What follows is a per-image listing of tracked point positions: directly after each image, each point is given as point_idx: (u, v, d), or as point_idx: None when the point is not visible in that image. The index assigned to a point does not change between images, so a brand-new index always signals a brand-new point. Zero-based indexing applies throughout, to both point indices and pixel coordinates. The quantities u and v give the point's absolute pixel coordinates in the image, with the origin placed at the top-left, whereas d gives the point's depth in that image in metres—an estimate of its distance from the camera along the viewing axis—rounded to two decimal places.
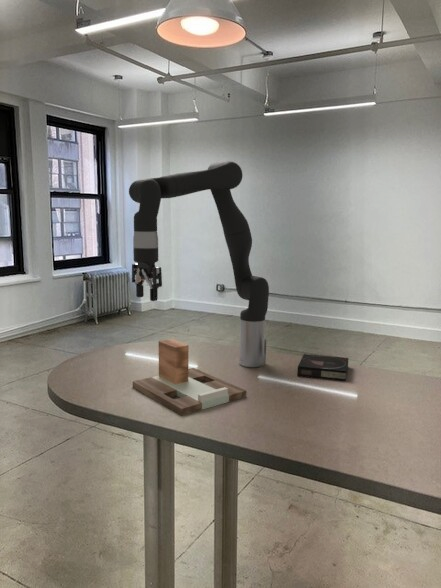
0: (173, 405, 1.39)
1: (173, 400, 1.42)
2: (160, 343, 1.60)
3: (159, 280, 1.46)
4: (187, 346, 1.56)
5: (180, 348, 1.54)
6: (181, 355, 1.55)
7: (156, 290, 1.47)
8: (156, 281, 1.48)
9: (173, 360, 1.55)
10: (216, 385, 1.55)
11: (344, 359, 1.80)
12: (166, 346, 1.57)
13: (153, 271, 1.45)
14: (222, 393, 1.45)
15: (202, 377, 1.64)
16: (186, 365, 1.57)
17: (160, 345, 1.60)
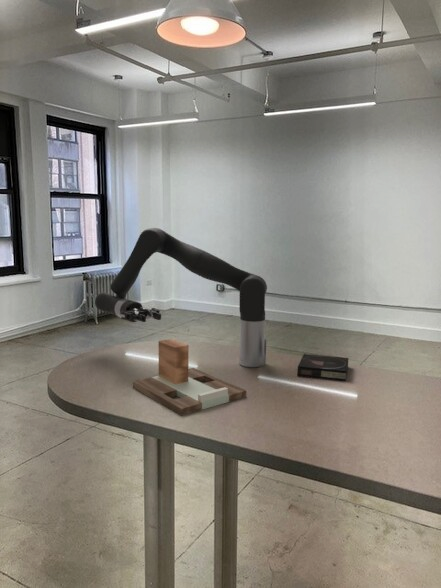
0: (173, 405, 1.39)
1: (173, 400, 1.42)
2: (160, 343, 1.60)
3: None
4: (187, 346, 1.56)
5: (180, 348, 1.54)
6: (181, 355, 1.55)
7: (137, 316, 1.67)
8: (135, 313, 1.70)
9: (173, 360, 1.55)
10: (216, 385, 1.55)
11: (344, 359, 1.80)
12: (166, 346, 1.57)
13: None
14: (222, 393, 1.45)
15: (202, 377, 1.64)
16: (186, 365, 1.57)
17: (160, 345, 1.60)
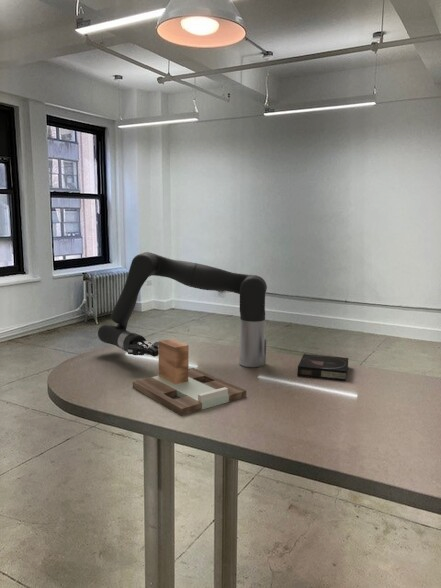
0: (173, 405, 1.39)
1: (173, 400, 1.42)
2: (160, 343, 1.60)
3: None
4: (187, 346, 1.56)
5: (180, 348, 1.54)
6: (181, 355, 1.55)
7: (148, 351, 1.69)
8: (144, 347, 1.71)
9: (173, 360, 1.55)
10: (216, 385, 1.55)
11: (344, 359, 1.80)
12: (166, 346, 1.57)
13: None
14: (222, 393, 1.45)
15: (202, 377, 1.64)
16: (186, 365, 1.57)
17: (160, 345, 1.60)
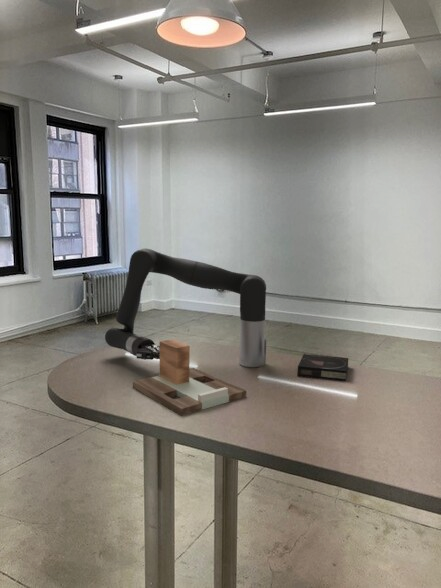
0: (173, 405, 1.39)
1: (173, 400, 1.42)
2: (161, 343, 1.60)
3: None
4: (188, 346, 1.56)
5: (181, 348, 1.54)
6: (182, 355, 1.55)
7: (157, 355, 1.65)
8: (153, 352, 1.66)
9: (174, 360, 1.54)
10: (216, 385, 1.55)
11: (344, 359, 1.80)
12: (167, 346, 1.57)
13: None
14: (222, 393, 1.45)
15: (202, 377, 1.64)
16: (187, 365, 1.56)
17: (161, 345, 1.60)
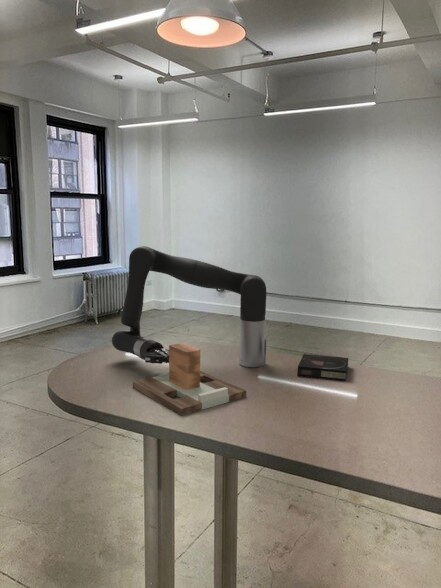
0: (173, 405, 1.39)
1: (173, 400, 1.42)
2: (171, 347, 1.55)
3: None
4: (199, 351, 1.51)
5: (191, 352, 1.49)
6: (192, 360, 1.50)
7: (166, 359, 1.60)
8: (162, 355, 1.62)
9: (184, 365, 1.50)
10: (216, 385, 1.55)
11: (344, 359, 1.80)
12: (177, 351, 1.52)
13: None
14: (222, 393, 1.45)
15: (202, 377, 1.64)
16: (198, 370, 1.52)
17: (171, 349, 1.55)
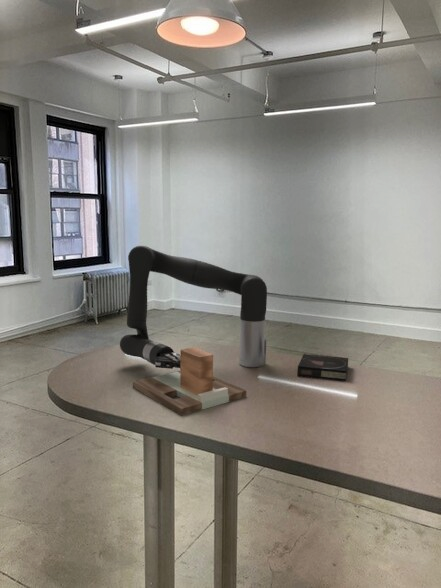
0: (173, 405, 1.39)
1: (173, 400, 1.42)
2: (182, 352, 1.50)
3: None
4: (212, 355, 1.46)
5: (204, 357, 1.44)
6: (205, 365, 1.45)
7: (177, 364, 1.55)
8: (173, 360, 1.57)
9: (197, 371, 1.45)
10: (216, 385, 1.55)
11: (344, 359, 1.80)
12: (189, 355, 1.47)
13: None
14: (222, 393, 1.45)
15: None
16: (210, 376, 1.47)
17: (182, 354, 1.50)
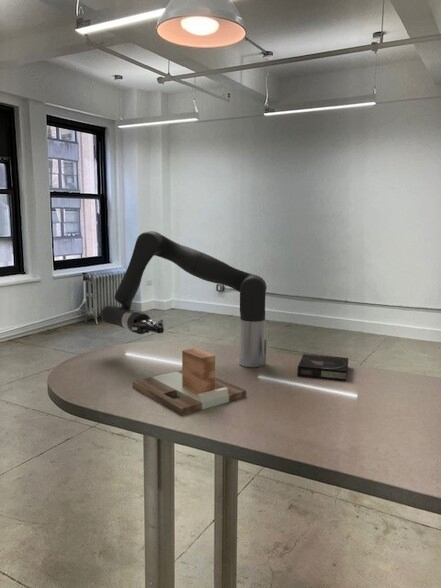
0: (173, 405, 1.39)
1: (173, 400, 1.42)
2: (184, 353, 1.49)
3: None
4: (214, 356, 1.45)
5: (206, 358, 1.44)
6: (207, 366, 1.44)
7: (152, 328, 1.66)
8: None
9: (199, 371, 1.44)
10: (216, 385, 1.55)
11: (344, 359, 1.80)
12: (191, 356, 1.46)
13: None
14: (222, 393, 1.45)
15: None
16: (212, 377, 1.46)
17: (184, 355, 1.49)
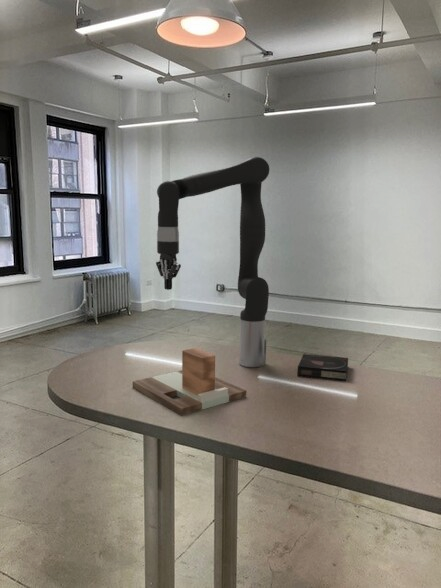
0: (173, 405, 1.39)
1: (173, 400, 1.42)
2: (184, 353, 1.49)
3: (175, 273, 1.70)
4: (214, 356, 1.45)
5: (206, 358, 1.44)
6: (207, 366, 1.44)
7: (171, 280, 1.72)
8: None
9: (199, 371, 1.44)
10: (216, 385, 1.55)
11: (344, 359, 1.80)
12: (191, 356, 1.46)
13: (173, 267, 1.67)
14: (222, 393, 1.45)
15: None
16: (212, 377, 1.46)
17: (184, 355, 1.49)
